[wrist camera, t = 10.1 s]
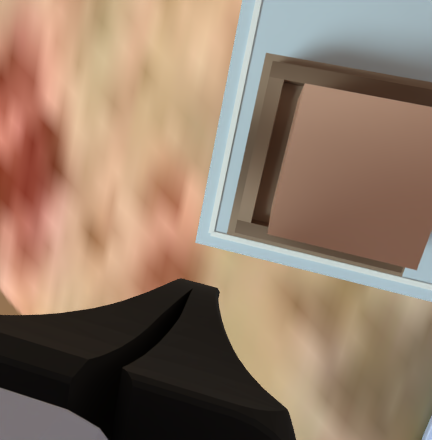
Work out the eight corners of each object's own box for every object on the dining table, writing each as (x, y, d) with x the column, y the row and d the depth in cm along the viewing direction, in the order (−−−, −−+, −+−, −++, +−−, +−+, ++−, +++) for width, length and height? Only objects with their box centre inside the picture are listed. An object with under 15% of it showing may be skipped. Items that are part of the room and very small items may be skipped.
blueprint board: (437, 297, 20) (446, 306, 19) (199, 237, 22) (194, 243, 21) (573, -46, 16) (593, -59, 15) (262, -86, 18) (261, -101, 17)
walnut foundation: (381, 252, 19) (407, 283, 15) (235, 218, 20) (223, 238, 16) (433, 98, 17) (480, 86, 13) (268, 68, 18) (265, 47, 14)
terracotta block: (375, 229, 16) (416, 270, 11) (271, 205, 16) (267, 234, 11) (410, 122, 15) (474, 114, 10) (297, 100, 15) (304, 83, 10)
